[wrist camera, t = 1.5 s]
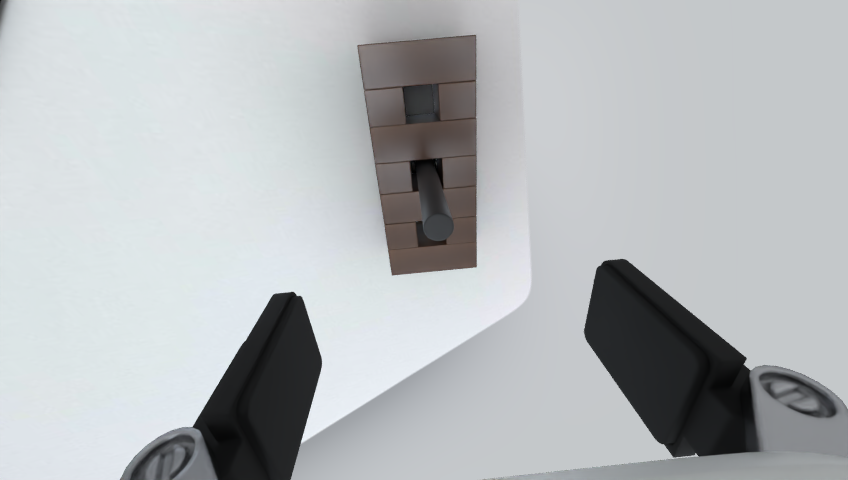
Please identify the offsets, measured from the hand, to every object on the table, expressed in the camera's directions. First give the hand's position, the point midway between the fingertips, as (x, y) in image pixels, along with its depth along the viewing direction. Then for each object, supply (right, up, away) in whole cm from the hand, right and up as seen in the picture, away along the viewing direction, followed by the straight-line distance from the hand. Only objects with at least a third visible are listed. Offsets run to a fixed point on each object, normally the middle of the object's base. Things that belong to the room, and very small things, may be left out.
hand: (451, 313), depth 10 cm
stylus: (-1, +9, +17) cm, 20 cm away
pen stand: (-1, +9, +17) cm, 20 cm away
